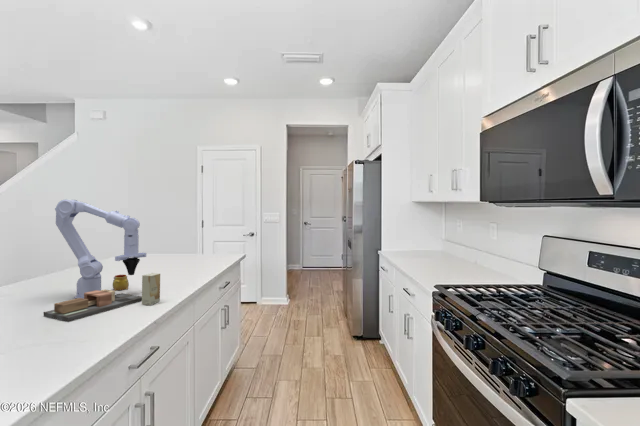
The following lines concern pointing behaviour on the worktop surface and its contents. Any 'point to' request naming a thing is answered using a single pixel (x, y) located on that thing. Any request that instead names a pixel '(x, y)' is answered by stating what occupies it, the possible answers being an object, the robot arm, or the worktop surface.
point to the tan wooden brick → (77, 304)
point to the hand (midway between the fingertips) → (131, 274)
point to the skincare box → (150, 288)
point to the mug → (120, 282)
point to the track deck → (96, 305)
